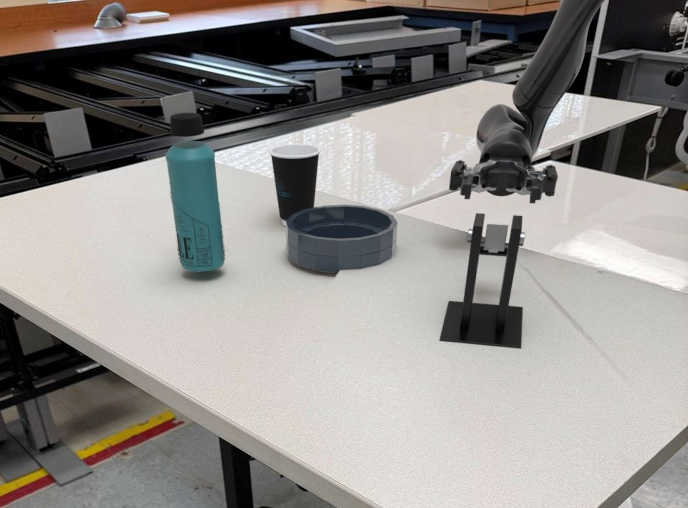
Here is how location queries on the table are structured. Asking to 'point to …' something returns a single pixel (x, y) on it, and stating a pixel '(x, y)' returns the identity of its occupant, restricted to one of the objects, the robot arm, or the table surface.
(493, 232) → the tap lever
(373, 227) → the grey shallow bowl
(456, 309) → the bracket
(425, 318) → the table surface
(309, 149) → the dixie cup
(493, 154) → the robot arm
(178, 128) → the beverage bottle
